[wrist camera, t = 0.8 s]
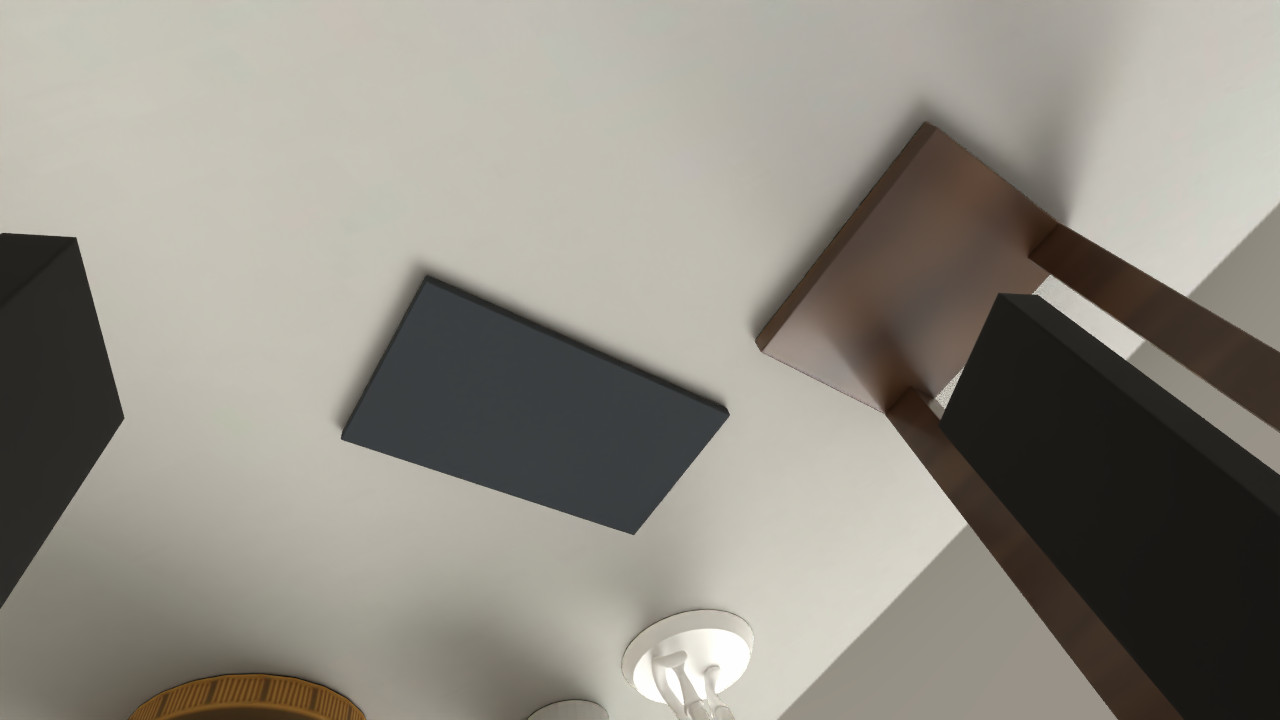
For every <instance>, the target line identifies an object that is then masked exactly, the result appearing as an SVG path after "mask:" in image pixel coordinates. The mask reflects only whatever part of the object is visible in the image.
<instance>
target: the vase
mask: <svg viewBox="0 0 1280 720" xmlns="http://www.w3.org/2000/svg"><path fill="white" fill-rule="evenodd" d="M128 720H366V719H365V717H364V715H363V713H362V712H361V711H360V710H359V709H357V708H356V707H355V706H354V705H353V704H352V703H351V702H350V701H349V700H348V699H346V698H345V697H343V696H341V695H339V694H337V693H335V692H333V691H332V690H330V689H328V688H326V687H323V686H320V685H317V684H313V683H310V682H306V681H303V680H300V679H296V678H289V677H281V676H273V675H265V674H250V675H225V676H219V677H214V678H208V679H203V680H197V681H192V682H189V683H186V684H184V685H181V686H178V687H175V688H173V689H170V690H167V691H164V692H162V693H160V694H159V695H157V696H156V697H154V698H152V699H151V700H149V701H148V702H146V703H145V704H143V705H141V706H140V707H138V709H137V710H136V711H135V712H134V713H133V714H132V716H131V717H130V718H129V719H128Z"/></svg>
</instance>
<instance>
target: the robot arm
mask: <svg viewBox="0 0 1280 720" xmlns="http://www.w3.org/2000/svg"><path fill="white" fill-rule="evenodd" d="M123 420H124V415H123V411H122V407H121V403H120V400H119V396H118V392H117V388H116V385H115V381H114V377H113V373H112V370H111V366H110V362H109V358H108V355H107V351H106V347H105V343H104V340H103V336H102V332H101V328H100V325H99V321H98V317H97V313H96V310H95V306H94V302H93V298H92V295H91V291H90V287H89V283H88V280H87V276H86V272H85V268H84V265H83V261H82V257H81V253H80V250H79V246H78V242H77V238H76V237H61V236H44V235H27V234H11V233H2V234H0V609H1V607H2V606H3V604H4V603H5V601H6V599H7V598H8V596H9V595H10V593H11V592H12V590H13V589H14V587H15V586H16V584H17V583H18V581H19V580H20V578H21V576H22V575H23V573H24V572H25V570H26V569H27V567H28V566H29V564H30V563H31V561H32V560H33V558H34V556H35V555H36V553H37V552H38V550H39V549H40V547H41V546H42V544H43V543H44V541H45V540H46V538H47V537H48V535H49V533H50V532H51V530H52V529H53V527H54V526H55V524H56V523H57V521H58V520H59V518H60V517H61V515H62V513H63V512H64V510H65V509H66V507H67V506H68V504H69V503H70V501H71V500H72V498H73V497H74V495H75V494H76V492H77V490H78V489H79V487H80V486H81V484H82V483H83V481H84V480H85V478H86V477H87V475H88V474H89V472H90V470H91V469H92V467H93V466H94V464H95V463H96V461H97V460H98V458H99V457H100V455H101V454H102V452H103V451H104V449H105V447H106V446H107V444H108V443H109V441H110V440H111V438H112V437H113V435H114V434H115V432H116V431H117V429H118V427H119V426H120V424H121V423H122V421H123ZM938 427H939V428H940V430H941V431H942V432H943V433H944V434H945V436H946V437H947V438H948V439H949V440H950V442H951V443H952V444H953V445H954V446H955V448H956V449H957V450H958V451H959V452H960V453H961V455H962V456H963V457H964V458H965V459H966V461H967V462H968V463H969V464H970V465H971V467H972V468H973V469H974V470H975V471H976V473H977V474H978V475H979V476H980V477H981V478H982V480H983V481H984V482H985V483H986V484H987V486H988V487H989V488H990V489H991V490H992V492H993V493H994V494H995V495H996V496H997V498H998V499H999V500H1000V501H1001V502H1002V503H1003V505H1004V506H1005V507H1006V508H1007V509H1008V511H1009V512H1010V513H1011V514H1012V515H1013V517H1014V518H1015V519H1016V520H1017V521H1018V523H1019V524H1020V525H1021V526H1022V527H1023V529H1024V530H1025V531H1026V532H1027V533H1028V534H1029V536H1030V537H1031V538H1032V539H1033V540H1034V542H1035V543H1036V544H1037V545H1038V546H1039V548H1040V549H1041V550H1042V551H1043V552H1044V554H1045V555H1046V556H1047V557H1048V558H1049V559H1050V561H1051V562H1052V563H1053V564H1054V565H1055V567H1056V568H1057V569H1058V570H1059V571H1060V573H1061V574H1062V575H1063V576H1064V577H1065V579H1066V580H1067V581H1068V582H1069V583H1070V584H1071V586H1072V587H1073V588H1074V589H1075V590H1076V592H1077V593H1078V594H1079V595H1080V596H1081V598H1082V599H1083V600H1084V601H1085V602H1086V604H1087V605H1088V606H1089V607H1090V608H1091V610H1092V611H1093V612H1094V613H1095V614H1096V615H1097V617H1098V618H1099V619H1100V620H1101V621H1102V623H1103V624H1104V625H1105V626H1106V627H1107V629H1108V630H1109V631H1110V632H1111V633H1112V635H1113V636H1114V637H1115V638H1116V639H1117V640H1118V642H1119V643H1120V644H1121V645H1122V646H1123V648H1124V649H1125V650H1126V651H1127V652H1128V654H1129V655H1130V656H1131V657H1132V658H1133V660H1134V661H1135V662H1136V663H1137V664H1138V666H1139V667H1140V668H1141V669H1142V670H1143V671H1144V673H1145V674H1146V675H1147V676H1148V677H1149V679H1150V680H1151V681H1152V682H1153V683H1154V685H1155V686H1156V687H1157V688H1158V689H1159V691H1160V692H1161V693H1162V694H1163V695H1164V696H1165V698H1166V699H1167V700H1168V701H1169V702H1170V704H1171V705H1172V706H1173V707H1174V708H1175V710H1176V711H1177V712H1178V713H1179V714H1180V716H1181V717H1182V718H1183V719H1184V720H1280V475H1279V474H1278V473H1276V472H1275V471H1274V470H1272V469H1271V468H1270V467H1268V466H1267V465H1265V464H1264V463H1262V462H1261V461H1260V460H1259V459H1257V458H1256V457H1255V456H1253V455H1252V454H1251V453H1249V452H1248V451H1247V450H1245V449H1244V448H1242V447H1241V446H1240V445H1239V444H1237V443H1236V442H1234V441H1233V440H1232V439H1231V438H1229V437H1228V436H1227V435H1225V434H1224V433H1222V432H1221V431H1220V430H1219V429H1217V428H1216V427H1214V426H1213V425H1212V424H1210V423H1209V422H1208V421H1206V420H1205V419H1204V418H1202V417H1201V416H1200V415H1198V414H1197V413H1196V412H1194V411H1193V410H1192V409H1190V408H1189V407H1187V406H1186V405H1185V404H1184V403H1182V402H1181V401H1179V400H1178V399H1177V398H1176V397H1174V396H1173V395H1171V394H1170V393H1169V392H1167V391H1166V390H1165V389H1163V388H1162V387H1161V386H1159V385H1158V384H1157V383H1155V382H1154V381H1152V380H1151V379H1150V378H1149V377H1147V376H1146V375H1145V374H1143V373H1142V372H1141V371H1139V370H1138V369H1137V368H1135V367H1134V366H1133V365H1131V364H1130V363H1129V362H1127V361H1126V360H1124V359H1123V358H1122V357H1120V356H1119V355H1118V354H1116V353H1115V352H1114V351H1112V350H1111V349H1110V348H1108V347H1107V346H1106V345H1104V344H1103V343H1102V342H1100V341H1099V340H1098V339H1096V338H1095V337H1094V336H1092V335H1091V334H1090V333H1088V332H1087V331H1086V330H1084V329H1083V328H1082V327H1080V326H1079V325H1077V324H1076V323H1075V322H1073V321H1072V320H1071V319H1069V318H1068V317H1067V316H1065V315H1064V314H1063V313H1061V312H1060V311H1059V310H1057V309H1056V308H1055V307H1053V306H1052V305H1051V304H1049V303H1048V302H1047V301H1045V300H1044V299H1043V298H1041V297H1040V296H1039V295H1029V294H1012V293H998V295H997V297H996V299H995V301H994V304H993V306H992V308H991V310H990V312H989V315H988V317H987V319H986V321H985V323H984V326H983V328H982V330H981V332H980V334H979V337H978V339H977V341H976V343H975V345H974V348H973V350H972V352H971V354H970V356H969V358H968V361H967V363H966V365H965V367H964V369H963V372H962V374H961V376H960V378H959V380H958V383H957V385H956V387H955V389H954V391H953V394H952V396H951V398H950V400H949V402H948V405H947V407H946V409H945V411H944V413H943V415H942V418H941V420H940V422H939V424H938Z"/></svg>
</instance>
